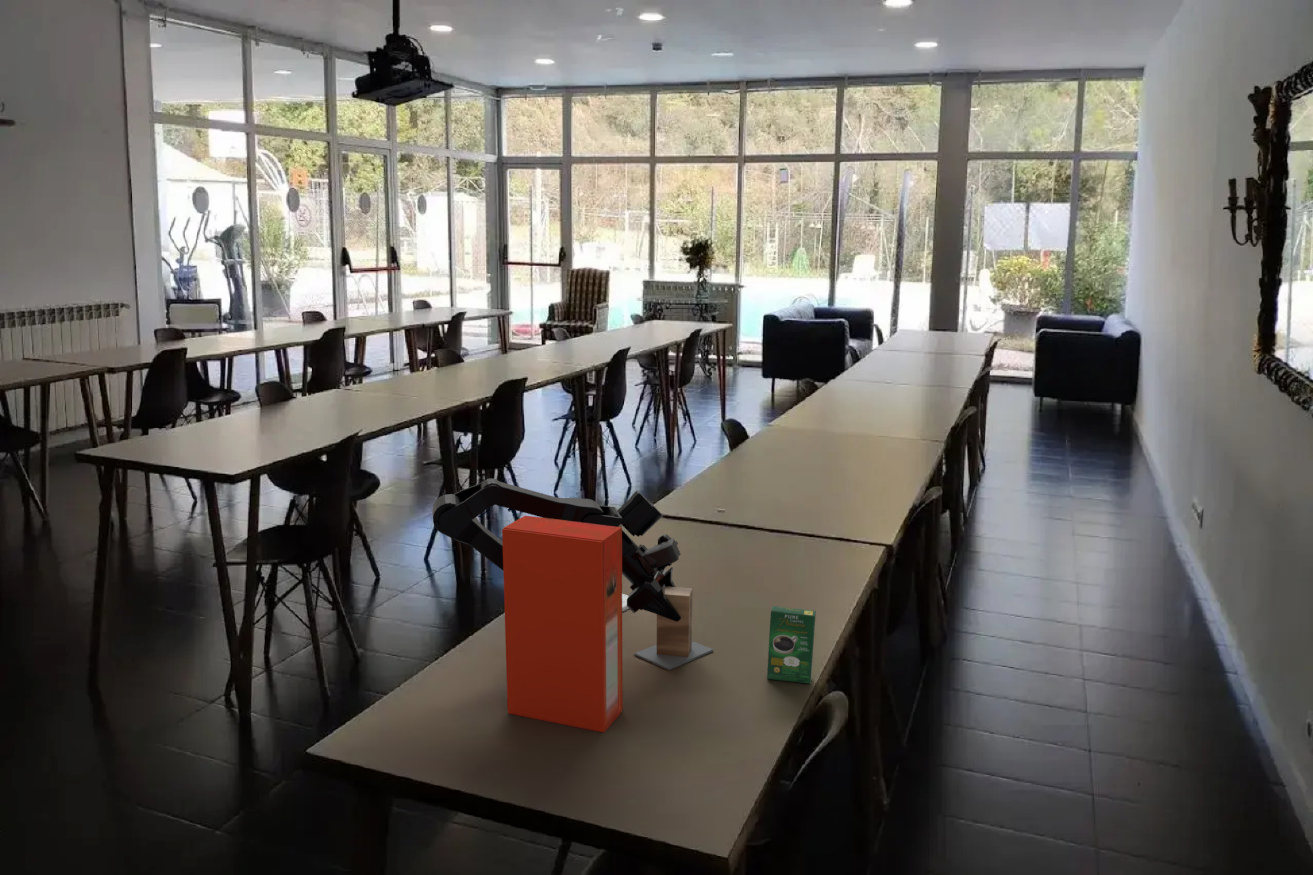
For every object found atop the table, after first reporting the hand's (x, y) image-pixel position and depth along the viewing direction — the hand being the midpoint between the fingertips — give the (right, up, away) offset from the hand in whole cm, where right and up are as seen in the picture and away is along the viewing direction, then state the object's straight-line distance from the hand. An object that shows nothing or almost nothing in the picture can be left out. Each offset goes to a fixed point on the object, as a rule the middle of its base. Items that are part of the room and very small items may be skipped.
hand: (681, 614), depth 190 cm
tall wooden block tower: (-1, -7, +2) cm, 8 cm away
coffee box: (+19, -10, -8) cm, 23 cm away
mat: (-1, -8, +2) cm, 8 cm away
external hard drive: (-15, -4, +25) cm, 29 cm away
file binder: (-20, -13, -22) cm, 32 cm away
